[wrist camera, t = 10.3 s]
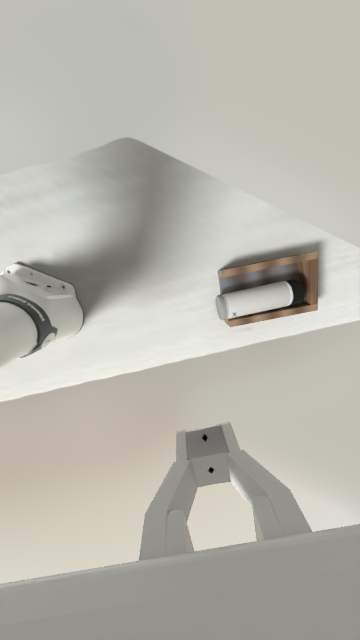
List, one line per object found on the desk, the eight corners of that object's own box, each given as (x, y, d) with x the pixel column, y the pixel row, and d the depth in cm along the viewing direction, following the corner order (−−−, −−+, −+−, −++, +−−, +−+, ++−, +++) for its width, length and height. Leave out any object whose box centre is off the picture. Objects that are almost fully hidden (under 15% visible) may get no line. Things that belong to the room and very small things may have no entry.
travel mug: (224, 324, 41) (308, 306, 41) (219, 297, 40) (306, 278, 39) (218, 318, 47) (291, 302, 47) (214, 294, 46) (289, 278, 45)
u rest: (224, 321, 49) (230, 327, 44) (217, 270, 45) (223, 270, 40) (302, 306, 48) (317, 310, 43) (301, 253, 45) (317, 251, 40)
